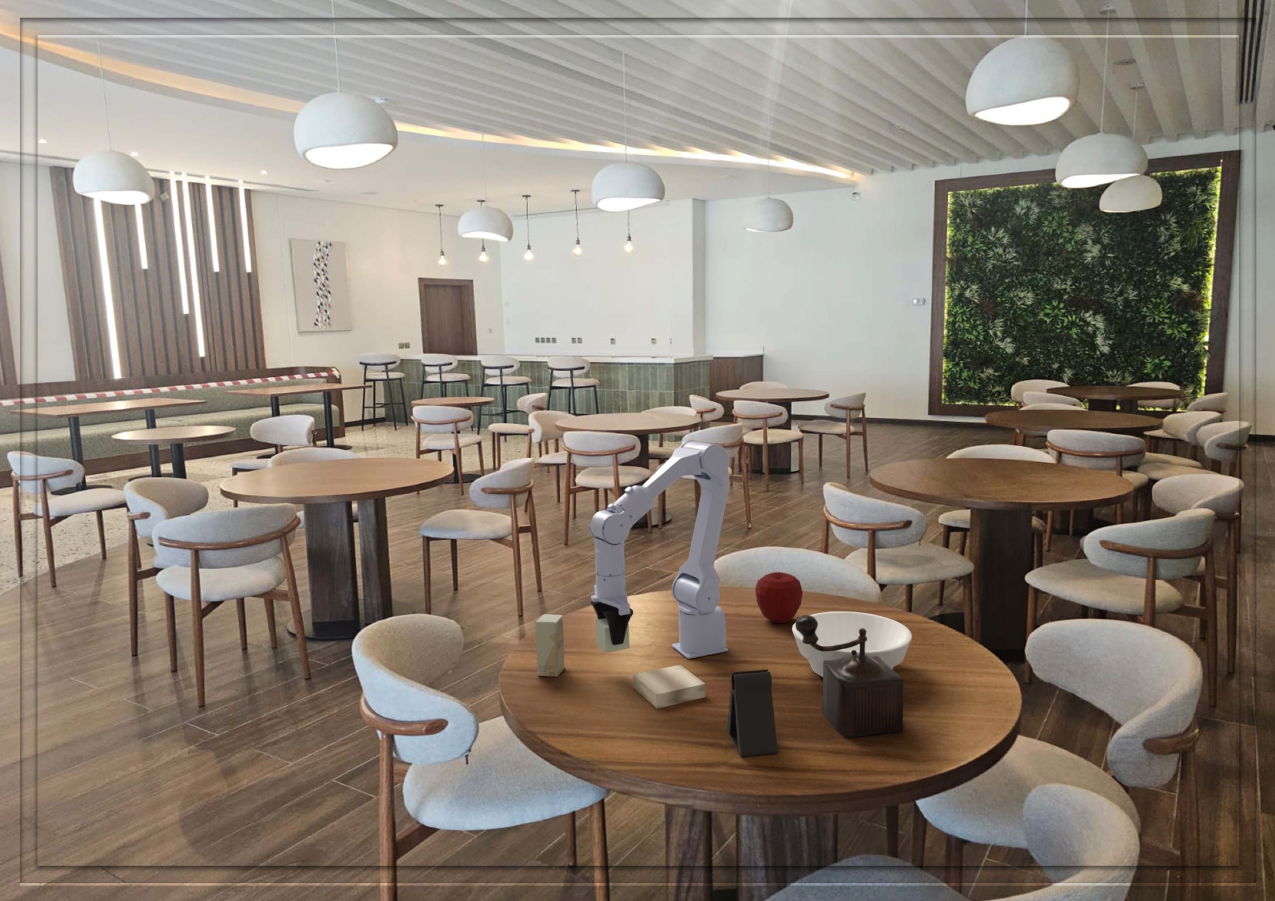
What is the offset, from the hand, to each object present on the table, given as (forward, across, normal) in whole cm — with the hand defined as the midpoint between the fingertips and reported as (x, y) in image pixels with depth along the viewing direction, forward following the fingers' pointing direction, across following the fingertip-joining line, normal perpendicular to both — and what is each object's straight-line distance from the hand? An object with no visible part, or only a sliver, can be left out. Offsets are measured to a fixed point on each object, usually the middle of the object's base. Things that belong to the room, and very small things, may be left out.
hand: (612, 639), depth 159 cm
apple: (+7, -10, +45) cm, 47 cm away
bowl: (+7, +20, +42) cm, 47 cm away
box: (+7, -6, -11) cm, 14 cm away
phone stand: (+7, +36, +10) cm, 38 cm away
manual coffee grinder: (+7, +37, +28) cm, 47 cm away
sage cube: (+1, 0, 0) cm, 1 cm away
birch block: (+7, +13, +6) cm, 16 cm away
